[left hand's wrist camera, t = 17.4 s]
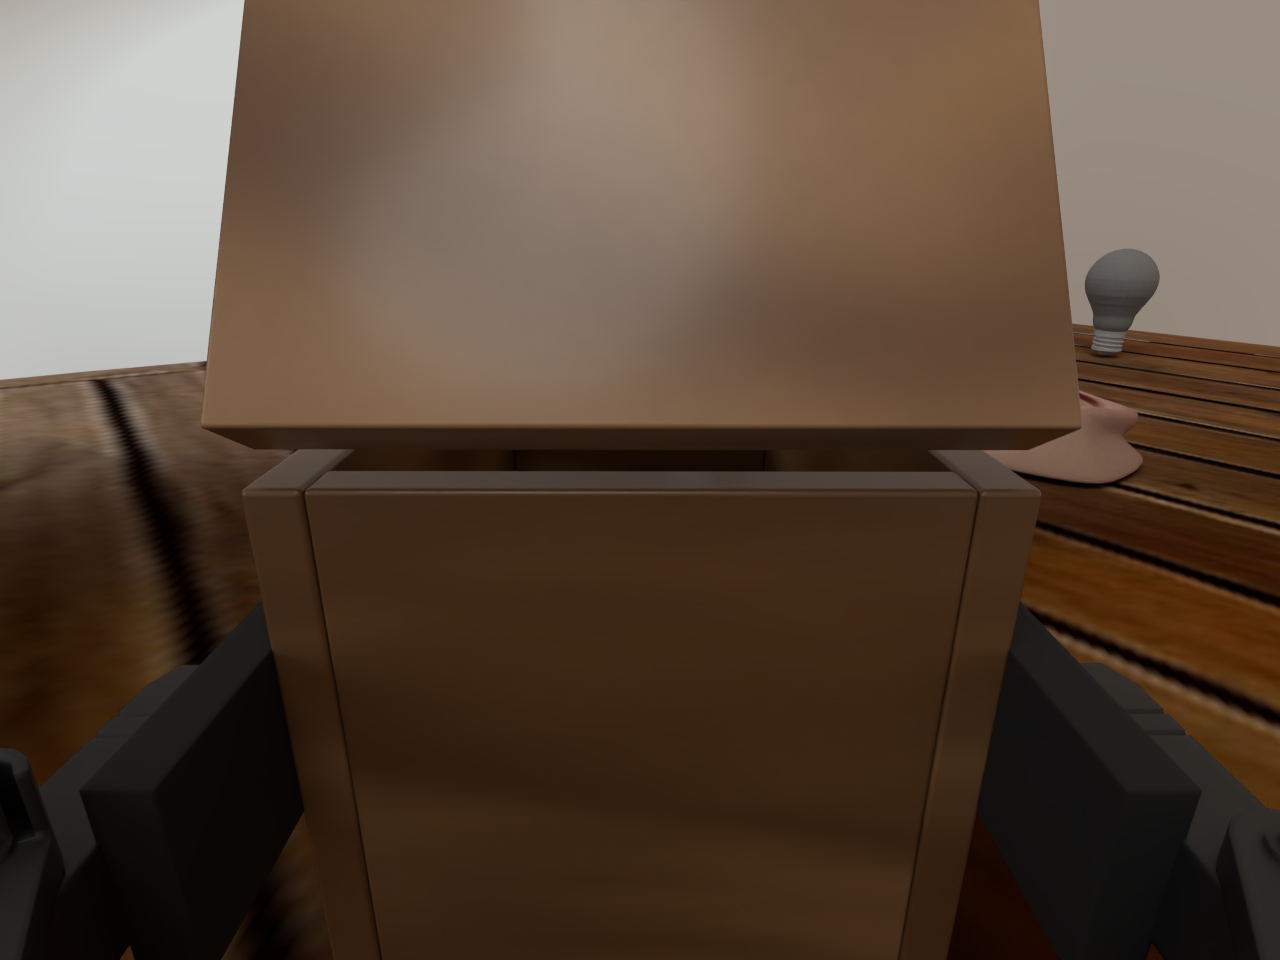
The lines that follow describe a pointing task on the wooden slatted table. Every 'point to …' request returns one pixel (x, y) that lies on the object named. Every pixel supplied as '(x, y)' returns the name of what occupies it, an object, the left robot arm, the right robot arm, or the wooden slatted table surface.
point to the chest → (640, 694)
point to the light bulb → (1118, 295)
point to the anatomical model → (1082, 447)
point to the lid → (641, 228)
